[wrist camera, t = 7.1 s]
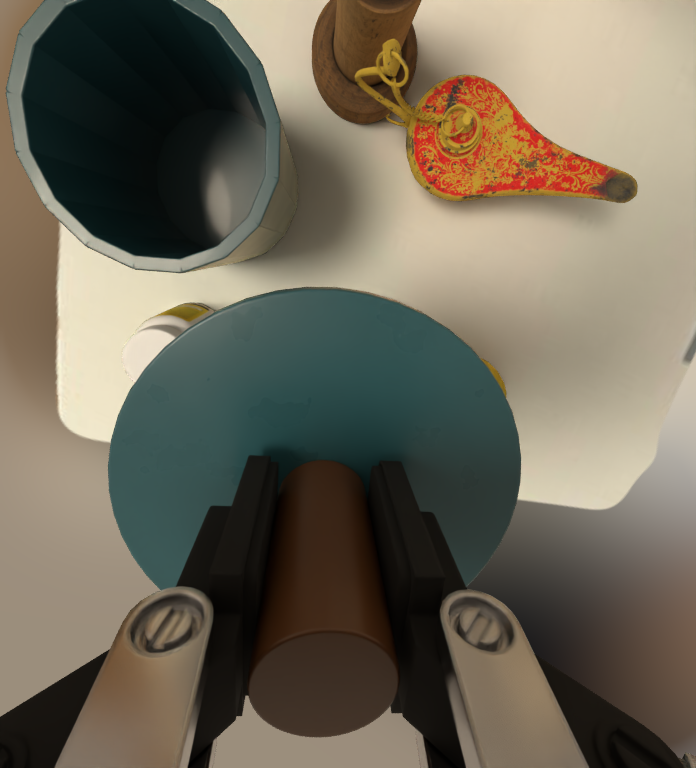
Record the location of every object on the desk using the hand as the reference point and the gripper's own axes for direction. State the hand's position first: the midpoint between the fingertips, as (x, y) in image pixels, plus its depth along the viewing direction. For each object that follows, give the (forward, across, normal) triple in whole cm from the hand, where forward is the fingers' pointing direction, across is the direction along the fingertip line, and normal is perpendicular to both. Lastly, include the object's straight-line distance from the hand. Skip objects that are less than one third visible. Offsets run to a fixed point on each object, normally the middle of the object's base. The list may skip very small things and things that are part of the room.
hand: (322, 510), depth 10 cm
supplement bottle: (+23, +10, +1) cm, 25 cm away
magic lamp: (+23, -10, -13) cm, 28 cm away
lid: (+1, 0, 0) cm, 1 cm away
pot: (+23, +7, -10) cm, 26 cm away
